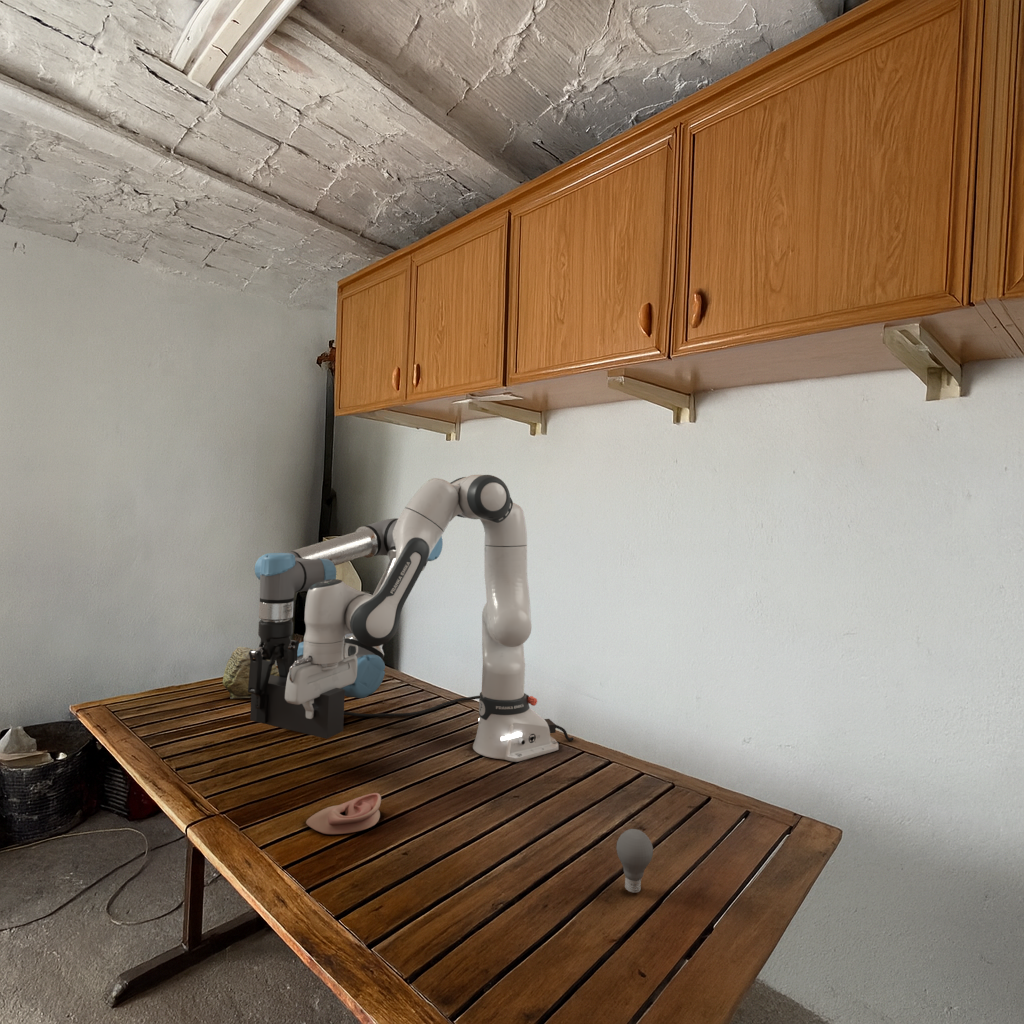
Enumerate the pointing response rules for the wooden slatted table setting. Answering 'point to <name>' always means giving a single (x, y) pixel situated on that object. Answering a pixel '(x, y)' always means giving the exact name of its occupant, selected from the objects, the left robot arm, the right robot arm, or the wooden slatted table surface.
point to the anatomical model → (347, 816)
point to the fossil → (240, 673)
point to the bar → (303, 711)
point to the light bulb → (634, 857)
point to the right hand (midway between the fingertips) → (321, 713)
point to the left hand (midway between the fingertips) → (272, 717)
